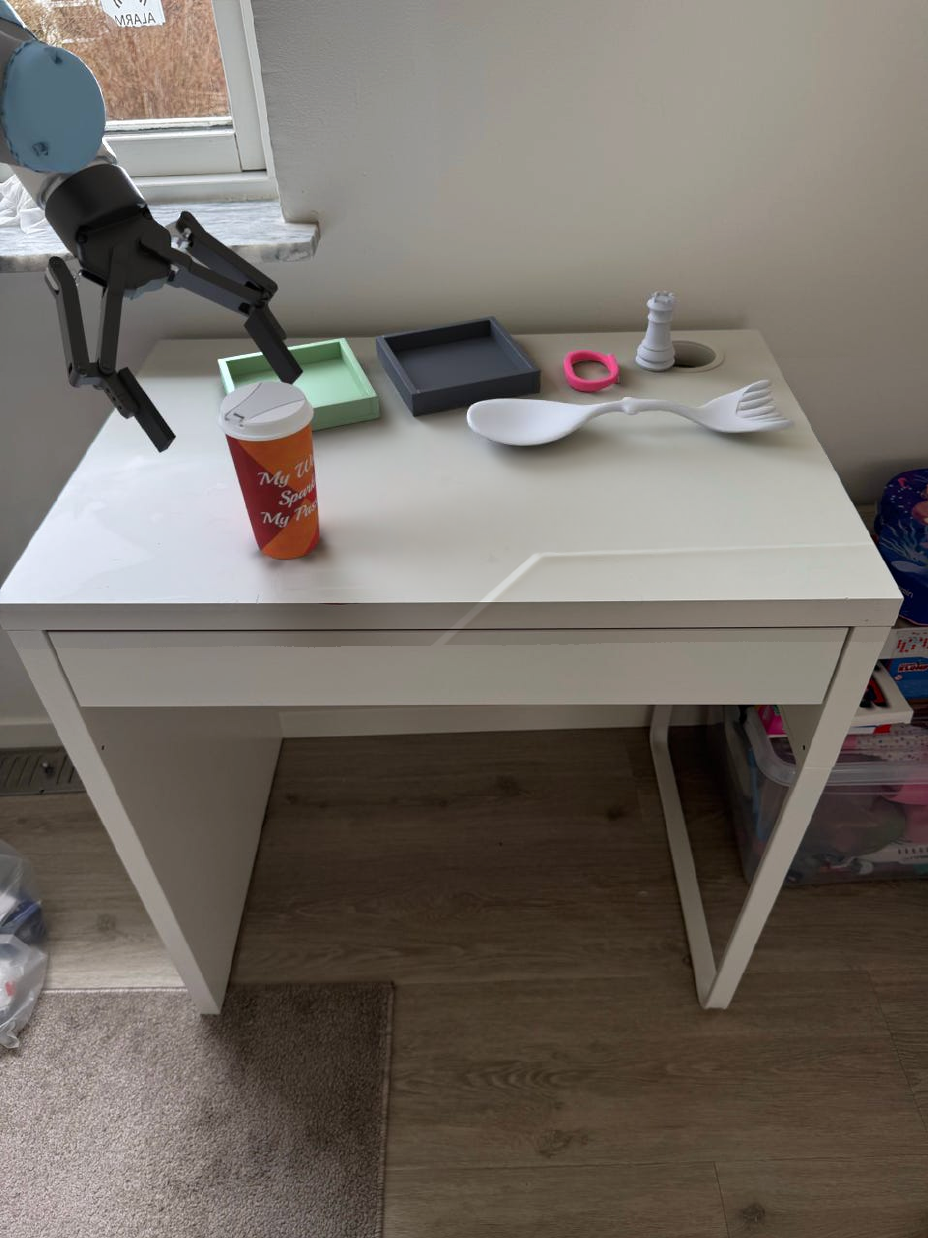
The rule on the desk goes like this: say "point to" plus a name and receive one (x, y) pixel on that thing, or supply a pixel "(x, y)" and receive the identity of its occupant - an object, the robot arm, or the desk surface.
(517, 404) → the spoon
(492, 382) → the charcoal tray
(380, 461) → the desk surface
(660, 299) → the rook chess piece
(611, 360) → the fitness band
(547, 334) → the desk surface
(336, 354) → the sage tray
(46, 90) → the robot arm
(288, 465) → the paper cup
